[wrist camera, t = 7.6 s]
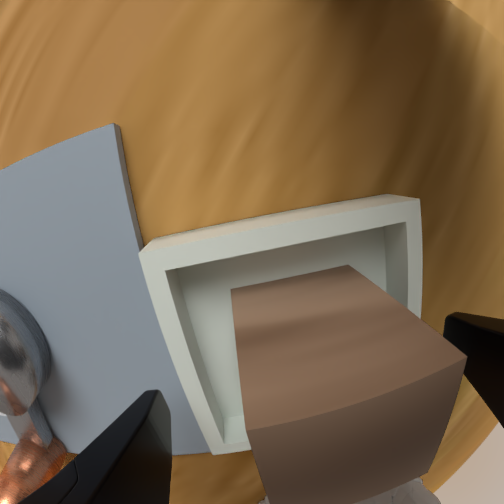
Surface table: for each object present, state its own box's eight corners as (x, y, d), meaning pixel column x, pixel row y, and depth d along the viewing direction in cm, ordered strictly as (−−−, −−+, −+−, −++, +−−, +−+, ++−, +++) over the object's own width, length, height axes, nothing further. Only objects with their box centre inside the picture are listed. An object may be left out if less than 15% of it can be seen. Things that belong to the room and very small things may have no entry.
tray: (387, 193, 10) (419, 198, 8) (389, 376, 12) (409, 402, 10) (153, 238, 10) (138, 253, 8) (212, 421, 12) (212, 455, 10)
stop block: (352, 360, 11) (427, 472, 5) (252, 384, 11) (276, 522, 5) (348, 264, 10) (467, 356, 4) (230, 288, 10) (245, 430, 4)
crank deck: (119, 125, 9) (113, 122, 8) (212, 442, 12) (212, 452, 11) (-96, 236, 8) (-102, 238, 7) (-10, 431, 11) (-14, 437, 11)
